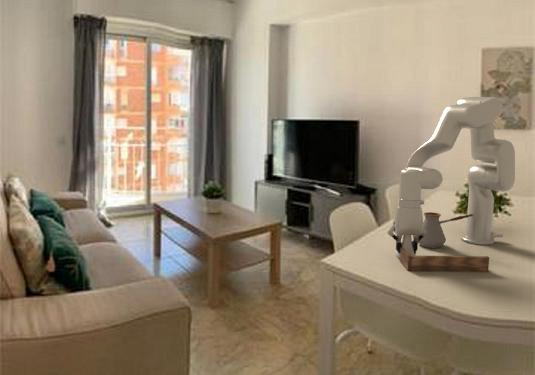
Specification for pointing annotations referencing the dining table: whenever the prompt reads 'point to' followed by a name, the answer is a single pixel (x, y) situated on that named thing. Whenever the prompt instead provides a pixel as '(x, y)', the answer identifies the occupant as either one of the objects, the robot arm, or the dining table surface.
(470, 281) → the dining table surface
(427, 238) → the coffee pot
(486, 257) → the wooden block
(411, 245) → the flask
